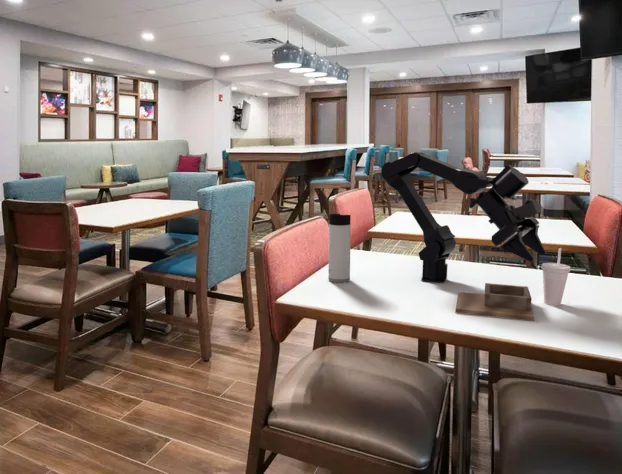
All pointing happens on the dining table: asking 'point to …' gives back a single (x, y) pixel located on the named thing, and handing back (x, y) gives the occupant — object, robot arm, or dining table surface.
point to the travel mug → (339, 248)
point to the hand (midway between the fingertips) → (538, 257)
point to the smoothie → (554, 281)
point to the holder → (497, 302)
